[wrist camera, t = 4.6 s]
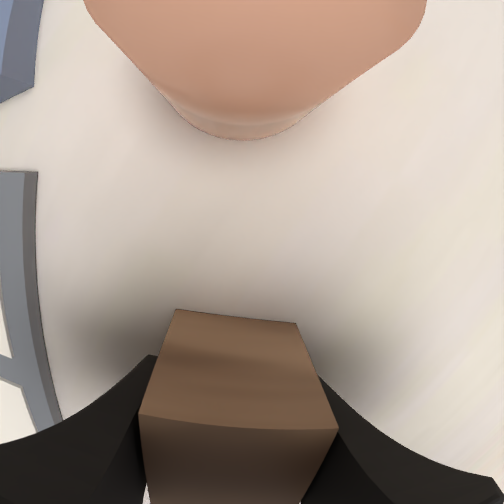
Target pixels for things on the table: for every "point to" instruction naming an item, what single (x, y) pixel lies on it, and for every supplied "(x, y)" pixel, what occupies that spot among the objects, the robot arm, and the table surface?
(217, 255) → the table surface
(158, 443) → the block
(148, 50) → the peach dome-topped cylinder
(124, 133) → the table surface
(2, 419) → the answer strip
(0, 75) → the slate blue flat block
